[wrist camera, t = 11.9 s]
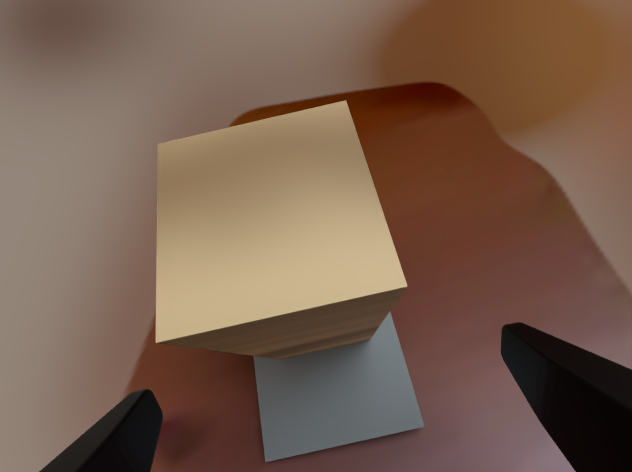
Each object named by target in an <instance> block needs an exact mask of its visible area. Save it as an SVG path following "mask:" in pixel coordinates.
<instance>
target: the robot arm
mask: <svg viewBox="0 0 632 472" xmlns="http://www.w3.org/2000/svg"><path fill="white" fill-rule="evenodd" d="M501 355H502V358H503V360H504V362H505V364H506V365H507V367H508V369H509V370H510V372H511V374H512V375H513V377H514V379H515V381H516V382H517V384H518V386H519V387H520V389H521V391H522V392H523V394H524V396H525V397H526V399H527V401H528V403H529V404H530V406H531V408H532V409H533V411H534V413H535V414H536V416H537V417H538V419H539V421H540V422H541V424H542V425H543V427H544V428H545V429H546V431H547V432H548V434H549V435H550V437H551V438H552V439H553V441H554V442H555V443H556V445H557V446H558V448H559V449H560V450H561V452H562V453H563V455H564V456H565V457H566V459H567V460H568V461H569V463H570V464H571V466H572V467H573V468H574V470H575V471H576V472H632V370H631V369H629V368H627V367H624V366H622V365H620V364H617V363H615V362H613V361H610V360H608V359H606V358H603V357H601V356H599V355H596V354H594V353H592V352H589V351H587V350H585V349H582V348H580V347H578V346H575V345H573V344H571V343H568V342H566V341H564V340H561V339H559V338H557V337H554V336H552V335H550V334H547V333H545V332H543V331H540V330H538V329H536V328H533V327H531V326H529V325H526V324H524V323H520V322H517V323H512V324H506V325H504V326H503V327H502V334H501ZM162 420H163V414H162V410H161V408H160V406H159V404H158V402H157V400H156V398H155V396H154V394H153V392H152V391H151V390H149V389H144V390H139V391H134V392H132V393H130V394H129V395H128V396H127V397H126V398H124V399H123V400H122V401H121V402H120V403H119V404H117V405H116V406H115V407H114V408H113V409H112V410H110V411H109V412H108V413H107V414H106V415H105V416H103V417H102V418H101V419H100V420H99V421H98V422H96V423H95V424H94V425H93V426H92V427H91V428H90V429H88V430H87V431H86V432H85V433H84V434H83V435H81V436H80V437H79V438H78V439H77V440H76V441H74V442H73V443H72V444H71V445H70V446H69V447H67V448H66V449H65V450H64V451H63V452H62V453H61V454H59V455H58V456H57V457H56V458H55V459H53V460H52V461H51V462H50V463H49V464H48V465H47V466H45V467H44V468H43V469H42V470H41V471H39V472H150V470H151V466H152V462H153V458H154V454H155V450H156V446H157V442H158V437H159V433H160V429H161V425H162Z"/></svg>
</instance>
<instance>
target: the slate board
mask: <svg viewBox="0 0 632 472" xmlns="http://www.w3.org/2000/svg"><path fill="white" fill-rule="evenodd" d="M253 358H254V367H255V375H256V384H257V393H258V402H259V410H260V419H261V428H262V437H263V445H264V454H265V462H269V461H273V460H278V459H282V458H287V457H291V456H296V455H300V454H305V453H309V452H314V451H318V450H323V449H327V448H332V447H336V446H341V445H345V444H350V443H354V442H358V441H363V440H367V439H372V438H376V437H381V436H385V435H390V434H394V433H399V432H403V431H408V430H412V429H417V428H421V427H425V426H424V422H423V419H422V416H421V412H420V409H419V406H418V402H417V399H416V396H415V392H414V389H413V386H412V382H411V379H410V376H409V373H408V369H407V366H406V363H405V359H404V356H403V353H402V349H401V346H400V343H399V339H398V336H397V333H396V329H395V326H394V323H393V319H392V316H391V313H390V312H389V313H388V315H387V316H386V318H385V319H384V321H383V322H382V323H381V325H380V326H379V328H378V329H377V331H376V332H375V333H374V335H373V336H372V338H371V339H370V340H367V341H362V342H358V343H353V344H349V345H344V346H340V347H335V348H331V349H326V350H322V351H317V352H313V353H308V354H304V355H299V356H295V357H290V358H286V359H273V358H266V357H258V356H253Z"/></svg>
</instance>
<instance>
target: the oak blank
mask: <svg viewBox="0 0 632 472" xmlns="http://www.w3.org/2000/svg"><path fill="white" fill-rule="evenodd" d="M157 187H158V189H157V278H156V280H157V281H156V343H160V344H168V345H176V346H183V347H191V348H198V349H206V350H213V351H221V352H228V353H236V354H243V355H251V356H258V357H266V358H273V359H286V358H290V357H295V356H299V355H304V354H308V353H313V352H317V351H322V350H326V349H331V348H335V347H340V346H344V345H349V344H353V343H358V342H362V341H367V340H370V339H371V338H372V336H373V335H374V333H375V332H376V331H377V329H378V328H379V326H380V325H381V323H382V322H383V321H384V319H385V318H386V316H387V315H388V313H389V312H390V311H391V309H392V308H393V306H394V305H395V304H396V302H397V301H398V299H399V298H400V296H401V295H402V294H403V292H404V291H405V289H406V288H407V283H406V280H405V277H404V274H403V271H402V268H401V265H400V262H399V259H398V256H397V253H396V250H395V247H394V244H393V241H392V238H391V235H390V232H389V229H388V226H387V223H386V220H385V217H384V214H383V211H382V208H381V205H380V202H379V199H378V196H377V193H376V190H375V187H374V184H373V181H372V178H371V175H370V172H369V169H368V166H367V163H366V160H365V157H364V153H363V150H362V147H361V144H360V141H359V138H358V135H357V132H356V129H355V126H354V123H353V120H352V117H351V114H350V111H349V108H348V105H347V102H346V100H345V101H341V102H337V103H333V104H328V105H324V106H320V107H315V108H311V109H307V110H302V111H298V112H294V113H289V114H285V115H281V116H277V117H272V118H268V119H264V120H259V121H255V122H251V123H246V124H242V125H238V126H233V127H229V128H225V129H221V130H216V131H212V132H208V133H203V134H199V135H195V136H190V137H186V138H182V139H177V140H173V141H169V142H165V143H160V144H158V183H157Z"/></svg>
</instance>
